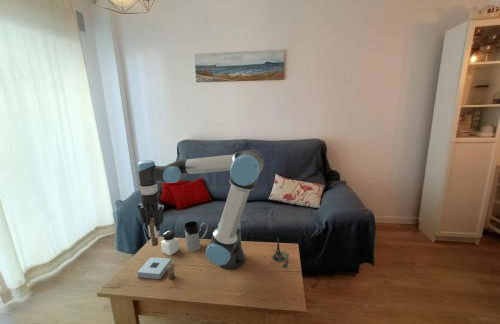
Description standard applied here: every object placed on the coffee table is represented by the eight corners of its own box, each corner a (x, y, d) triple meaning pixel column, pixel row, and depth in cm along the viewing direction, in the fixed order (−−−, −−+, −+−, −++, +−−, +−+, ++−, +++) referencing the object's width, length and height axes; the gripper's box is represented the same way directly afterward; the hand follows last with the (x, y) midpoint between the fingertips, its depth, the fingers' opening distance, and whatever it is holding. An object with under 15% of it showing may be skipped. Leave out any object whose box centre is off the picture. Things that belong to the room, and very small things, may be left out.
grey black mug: (184, 245, 145) (181, 223, 142) (206, 238, 152) (204, 217, 148) (187, 252, 138) (185, 229, 134) (211, 245, 144) (209, 223, 141)
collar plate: (171, 263, 129) (170, 258, 128) (160, 279, 117) (159, 273, 117) (151, 262, 131) (150, 257, 130) (138, 277, 119) (137, 272, 119)
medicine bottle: (179, 249, 141) (177, 231, 139) (170, 256, 136) (167, 237, 133) (171, 246, 145) (169, 228, 142) (162, 252, 139) (159, 233, 137)
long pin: (159, 243, 122) (157, 218, 119) (156, 246, 120) (153, 221, 116) (154, 242, 123) (151, 217, 120) (150, 245, 120) (148, 220, 117)
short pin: (175, 275, 120) (174, 264, 118) (172, 279, 117) (171, 268, 115) (170, 274, 120) (168, 264, 119) (167, 279, 117) (165, 268, 116)
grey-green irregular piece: (287, 269, 122) (287, 246, 119) (268, 267, 124) (267, 244, 121) (289, 252, 136) (289, 230, 133) (271, 250, 138) (271, 229, 135)
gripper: (168, 190, 117) (172, 233, 122) (139, 188, 120) (144, 231, 125) (160, 196, 110) (164, 241, 115) (129, 194, 112) (135, 238, 118)
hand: (154, 236), depth 120 cm, fingers closed on long pin, 2 cm apart
